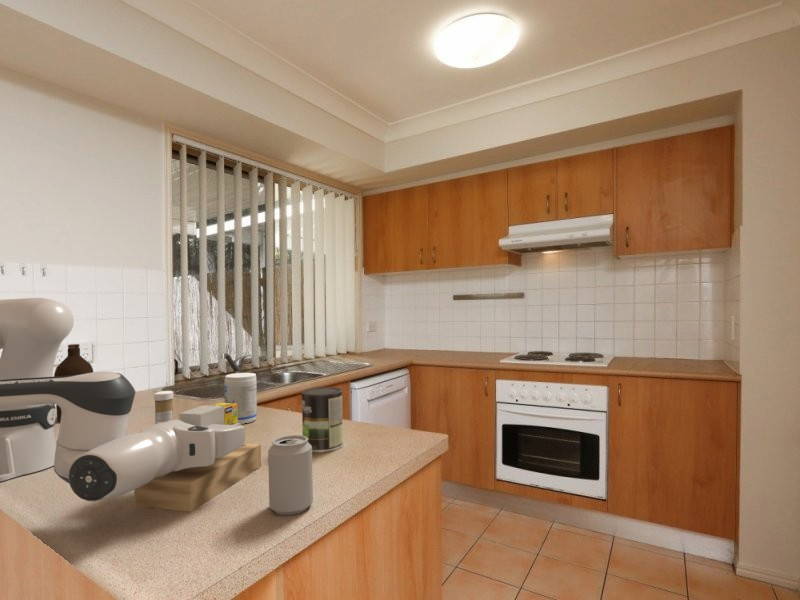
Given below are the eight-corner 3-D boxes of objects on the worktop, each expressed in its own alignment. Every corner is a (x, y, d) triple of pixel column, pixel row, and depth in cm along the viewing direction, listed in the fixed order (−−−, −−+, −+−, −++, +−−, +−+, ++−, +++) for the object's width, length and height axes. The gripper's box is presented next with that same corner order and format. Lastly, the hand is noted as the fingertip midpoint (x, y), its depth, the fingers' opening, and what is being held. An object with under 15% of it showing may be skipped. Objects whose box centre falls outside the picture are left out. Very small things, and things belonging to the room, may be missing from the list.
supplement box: (225, 452, 109) (224, 408, 109) (204, 451, 110) (203, 407, 110) (239, 445, 115) (238, 402, 115) (218, 444, 116) (217, 402, 116)
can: (295, 494, 83) (294, 430, 83) (321, 505, 78) (320, 437, 79) (260, 509, 77) (259, 440, 78) (286, 521, 73) (285, 448, 73)
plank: (190, 511, 77) (190, 482, 77) (134, 505, 80) (134, 477, 80) (261, 466, 98) (260, 443, 98) (214, 463, 101) (214, 441, 101)
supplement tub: (218, 423, 137) (217, 376, 137) (241, 416, 146) (241, 371, 146) (240, 426, 133) (239, 377, 133) (263, 419, 141) (262, 373, 141)
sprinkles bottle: (175, 438, 122) (174, 389, 122) (172, 443, 118) (171, 392, 118) (156, 440, 121) (155, 391, 121) (153, 445, 116) (152, 394, 116)
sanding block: (201, 466, 85) (200, 414, 85) (179, 464, 86) (179, 413, 86) (224, 454, 92) (224, 406, 92) (204, 452, 93) (203, 405, 93)
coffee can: (308, 455, 105) (307, 396, 105) (297, 444, 114) (296, 389, 114) (349, 448, 110) (348, 391, 110) (335, 438, 119) (334, 385, 119)
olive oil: (47, 424, 142) (46, 346, 142) (64, 416, 152) (63, 344, 152) (85, 421, 144) (84, 345, 144) (99, 414, 154) (98, 342, 155)
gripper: (124, 459, 83) (178, 438, 97) (217, 466, 78) (261, 443, 91) (123, 426, 83) (177, 409, 97) (216, 431, 78) (260, 412, 92)
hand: (218, 425), depth 94 cm, fingers open, 8 cm apart
